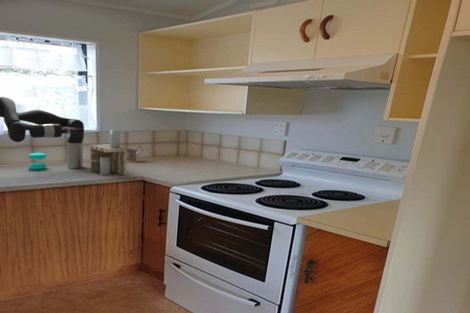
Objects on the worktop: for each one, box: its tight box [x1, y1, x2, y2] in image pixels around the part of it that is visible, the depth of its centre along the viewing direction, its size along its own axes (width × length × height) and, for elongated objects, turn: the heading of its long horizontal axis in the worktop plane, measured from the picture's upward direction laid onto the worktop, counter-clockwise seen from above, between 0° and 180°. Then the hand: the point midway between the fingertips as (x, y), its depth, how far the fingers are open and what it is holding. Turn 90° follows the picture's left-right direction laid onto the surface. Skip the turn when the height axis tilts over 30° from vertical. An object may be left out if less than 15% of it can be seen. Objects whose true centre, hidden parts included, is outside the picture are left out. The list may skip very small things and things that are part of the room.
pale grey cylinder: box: [109, 129, 121, 148], centre depth 211 cm, size 6×6×11 cm
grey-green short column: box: [99, 157, 111, 176], centre depth 214 cm, size 6×6×11 cm
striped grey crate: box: [89, 143, 127, 176], centre depth 215 cm, size 20×14×18 cm
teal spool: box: [28, 152, 47, 171], centre depth 218 cm, size 10×10×10 cm
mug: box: [126, 146, 144, 164], centre depth 264 cm, size 14×10×12 cm
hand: (80, 129), depth 199 cm, fingers open, 8 cm apart
